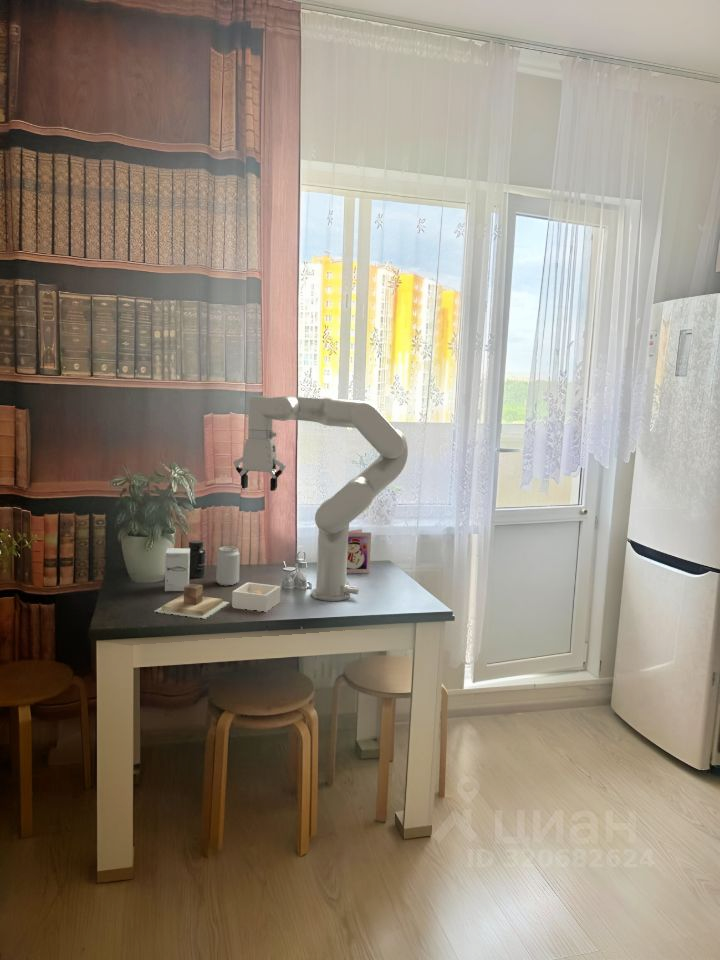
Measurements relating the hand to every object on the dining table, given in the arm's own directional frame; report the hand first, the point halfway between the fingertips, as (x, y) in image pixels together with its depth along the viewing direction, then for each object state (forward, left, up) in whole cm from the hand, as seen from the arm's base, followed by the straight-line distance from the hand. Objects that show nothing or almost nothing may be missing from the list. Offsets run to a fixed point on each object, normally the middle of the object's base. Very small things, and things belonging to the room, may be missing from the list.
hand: (258, 489), depth 233 cm
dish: (-6, +14, -33) cm, 36 cm away
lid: (+10, +24, -33) cm, 42 cm away
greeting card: (-22, -37, -34) cm, 55 cm away
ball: (-6, +14, -31) cm, 34 cm away
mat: (+10, +24, -33) cm, 42 cm away
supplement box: (+24, +8, -34) cm, 42 cm away
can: (+12, -4, -34) cm, 36 cm away
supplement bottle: (+26, -8, -34) cm, 43 cm away
